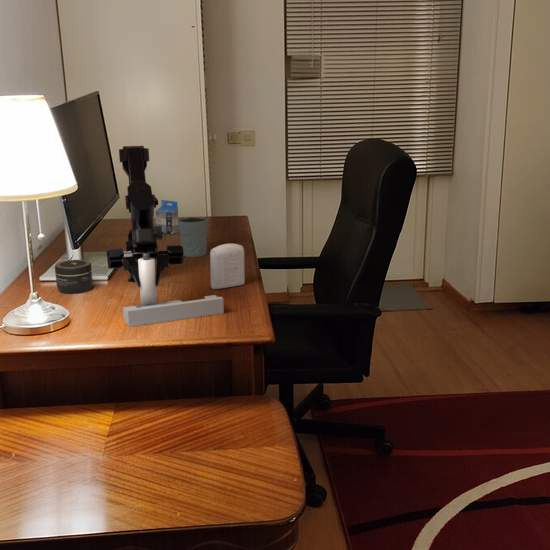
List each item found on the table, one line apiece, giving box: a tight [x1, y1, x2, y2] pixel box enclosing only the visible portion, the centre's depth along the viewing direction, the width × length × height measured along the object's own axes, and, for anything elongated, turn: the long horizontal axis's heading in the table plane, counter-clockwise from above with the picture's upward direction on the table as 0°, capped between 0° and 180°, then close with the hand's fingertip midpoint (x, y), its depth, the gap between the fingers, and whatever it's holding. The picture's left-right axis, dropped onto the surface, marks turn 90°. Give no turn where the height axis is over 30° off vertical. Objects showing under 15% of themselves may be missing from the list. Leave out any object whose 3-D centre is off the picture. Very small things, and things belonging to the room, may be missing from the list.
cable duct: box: [122, 294, 225, 328], centre depth 172 cm, size 24×6×4 cm, turn 113°
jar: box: [54, 259, 93, 295], centre depth 194 cm, size 10×10×8 cm
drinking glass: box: [178, 216, 209, 258], centre depth 232 cm, size 10×10×12 cm
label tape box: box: [155, 199, 179, 235], centre depth 265 cm, size 9×4×12 cm, turn 55°
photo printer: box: [209, 243, 246, 290], centre depth 195 cm, size 10×4×12 cm, turn 123°
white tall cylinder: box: [138, 253, 158, 306], centre depth 169 cm, size 4×4×14 cm
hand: (148, 286), depth 168 cm, fingers closed on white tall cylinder, 4 cm apart
